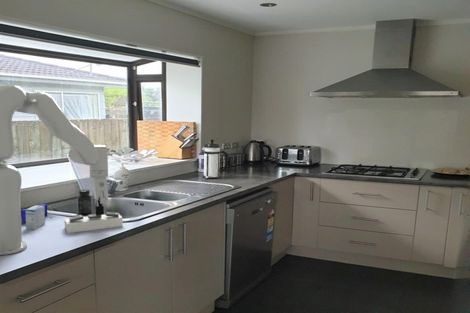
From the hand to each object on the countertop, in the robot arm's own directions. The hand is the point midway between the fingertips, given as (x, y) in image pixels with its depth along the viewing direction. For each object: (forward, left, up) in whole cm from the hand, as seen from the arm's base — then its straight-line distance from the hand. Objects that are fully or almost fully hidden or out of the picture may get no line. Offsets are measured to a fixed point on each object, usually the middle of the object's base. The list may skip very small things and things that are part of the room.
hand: (99, 214), depth 173 cm
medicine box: (-11, +26, -6) cm, 28 cm away
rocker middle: (-2, +1, -1) cm, 2 cm away
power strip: (-1, +3, -6) cm, 6 cm away
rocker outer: (+4, -3, -1) cm, 5 cm away
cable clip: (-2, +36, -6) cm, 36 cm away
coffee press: (+137, +5, -6) cm, 137 cm away
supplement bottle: (+14, +21, -6) cm, 26 cm away
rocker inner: (-8, +6, -1) cm, 10 cm away
